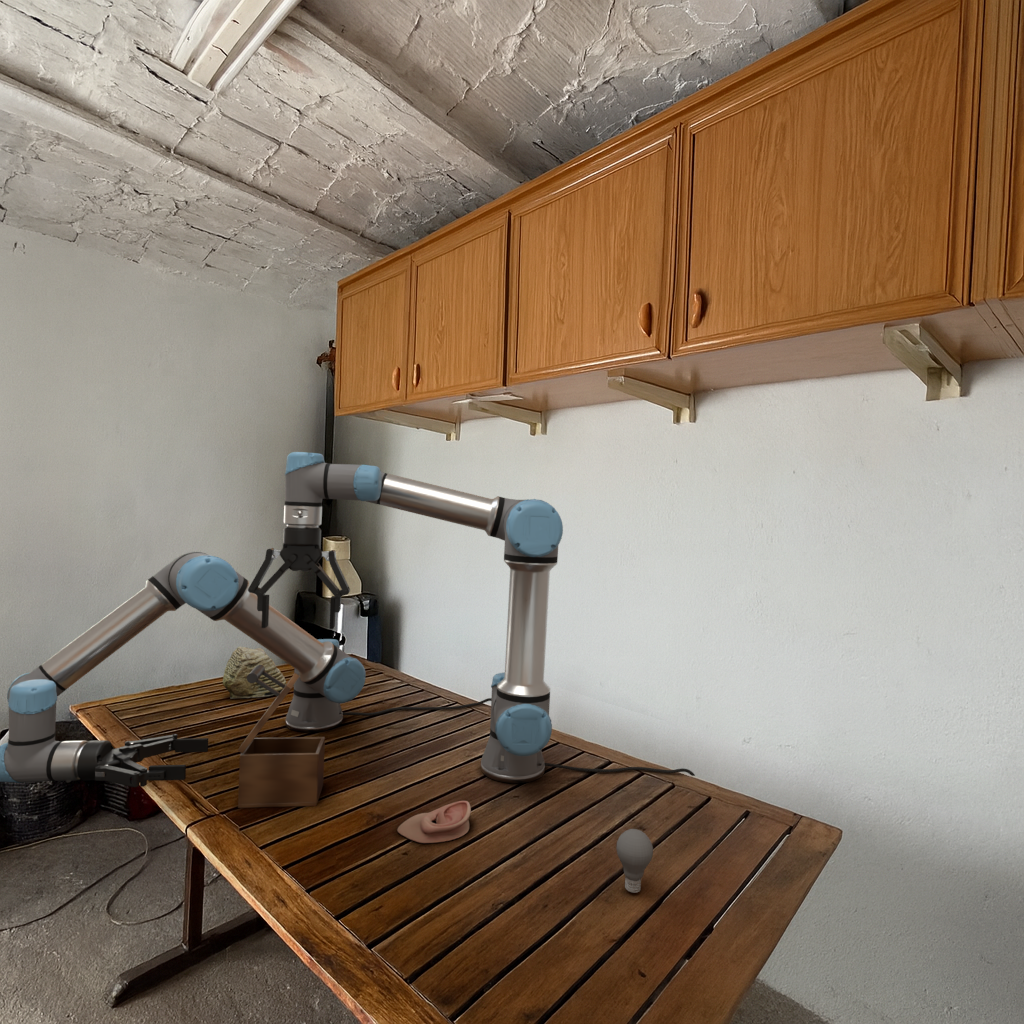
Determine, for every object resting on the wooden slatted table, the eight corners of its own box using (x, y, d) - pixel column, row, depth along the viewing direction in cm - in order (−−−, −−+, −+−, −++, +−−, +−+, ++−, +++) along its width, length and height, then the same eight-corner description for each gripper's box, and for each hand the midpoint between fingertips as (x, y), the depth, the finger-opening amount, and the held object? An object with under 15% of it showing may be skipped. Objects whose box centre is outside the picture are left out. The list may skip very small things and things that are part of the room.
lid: (299, 675, 138) (266, 653, 137) (291, 688, 129) (255, 664, 127) (254, 736, 137) (220, 714, 136) (242, 753, 127) (205, 730, 126)
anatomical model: (391, 817, 118) (413, 790, 130) (390, 838, 118) (412, 809, 130) (459, 827, 116) (476, 799, 127) (459, 849, 116) (475, 819, 127)
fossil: (218, 695, 195) (220, 647, 195) (278, 685, 208) (279, 640, 207) (228, 703, 189) (230, 653, 188) (289, 692, 201) (290, 645, 201)
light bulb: (610, 879, 108) (613, 822, 108) (644, 879, 109) (647, 822, 109) (619, 902, 102) (622, 840, 102) (655, 901, 103) (658, 840, 103)
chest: (323, 785, 139) (325, 736, 139) (316, 805, 130) (318, 754, 130) (250, 786, 137) (251, 737, 137) (237, 808, 128) (239, 755, 127)
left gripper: (113, 753, 140) (215, 751, 143) (48, 809, 115) (173, 805, 118) (114, 720, 140) (216, 718, 143) (49, 768, 115) (174, 765, 118)
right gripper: (234, 524, 127) (231, 630, 127) (362, 529, 131) (357, 631, 131) (244, 523, 134) (241, 622, 135) (364, 527, 138) (361, 624, 139)
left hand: (197, 757), depth 131 cm, fingers open, 13 cm apart
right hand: (298, 627), depth 133 cm, fingers open, 13 cm apart
